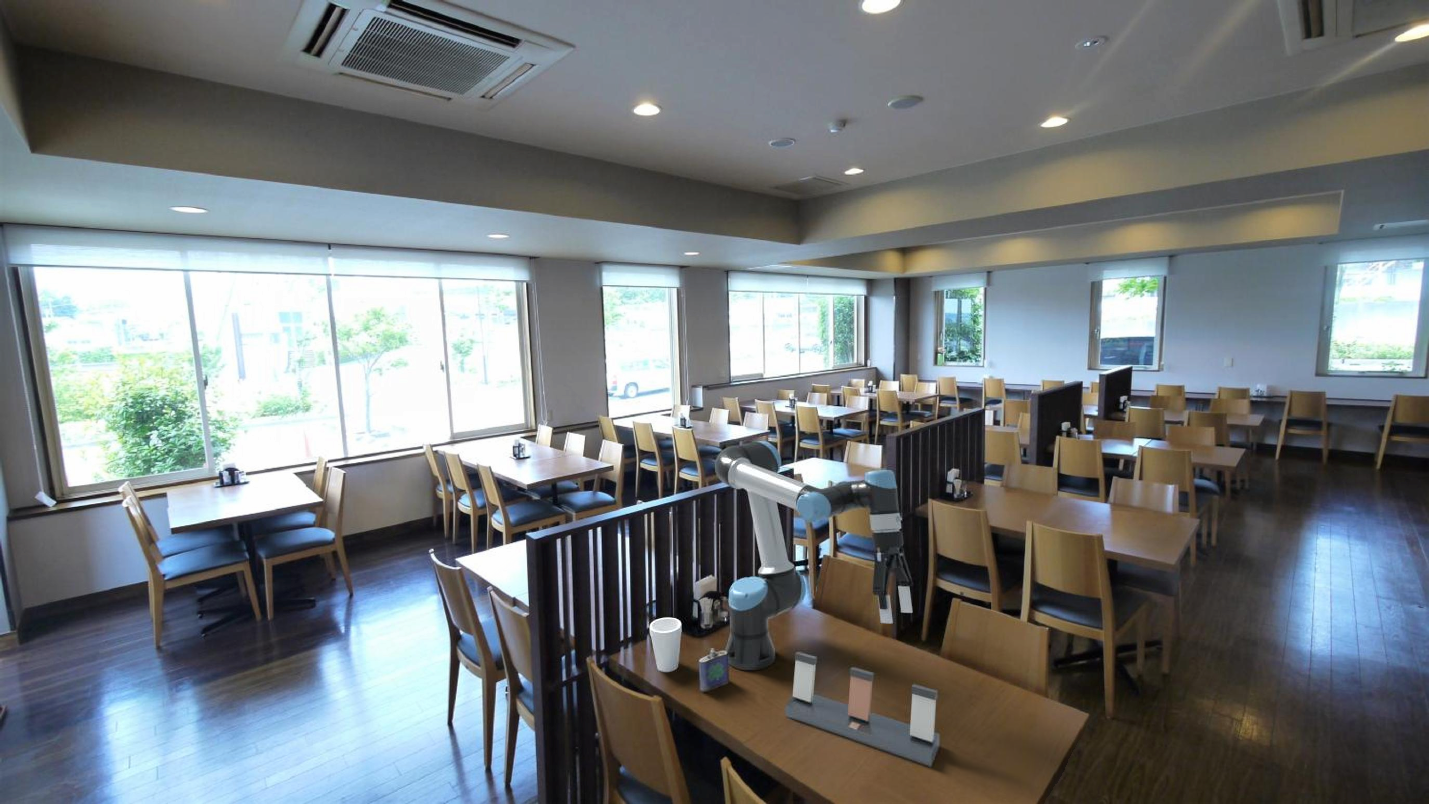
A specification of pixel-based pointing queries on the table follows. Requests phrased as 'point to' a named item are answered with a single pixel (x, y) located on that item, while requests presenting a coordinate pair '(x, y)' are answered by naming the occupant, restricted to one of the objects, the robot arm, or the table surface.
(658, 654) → the foam cup
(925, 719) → the lever right
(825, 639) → the table surface
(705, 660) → the flask
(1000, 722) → the table surface
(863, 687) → the lever middle
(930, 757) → the switch panel
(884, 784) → the table surface
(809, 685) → the lever left
